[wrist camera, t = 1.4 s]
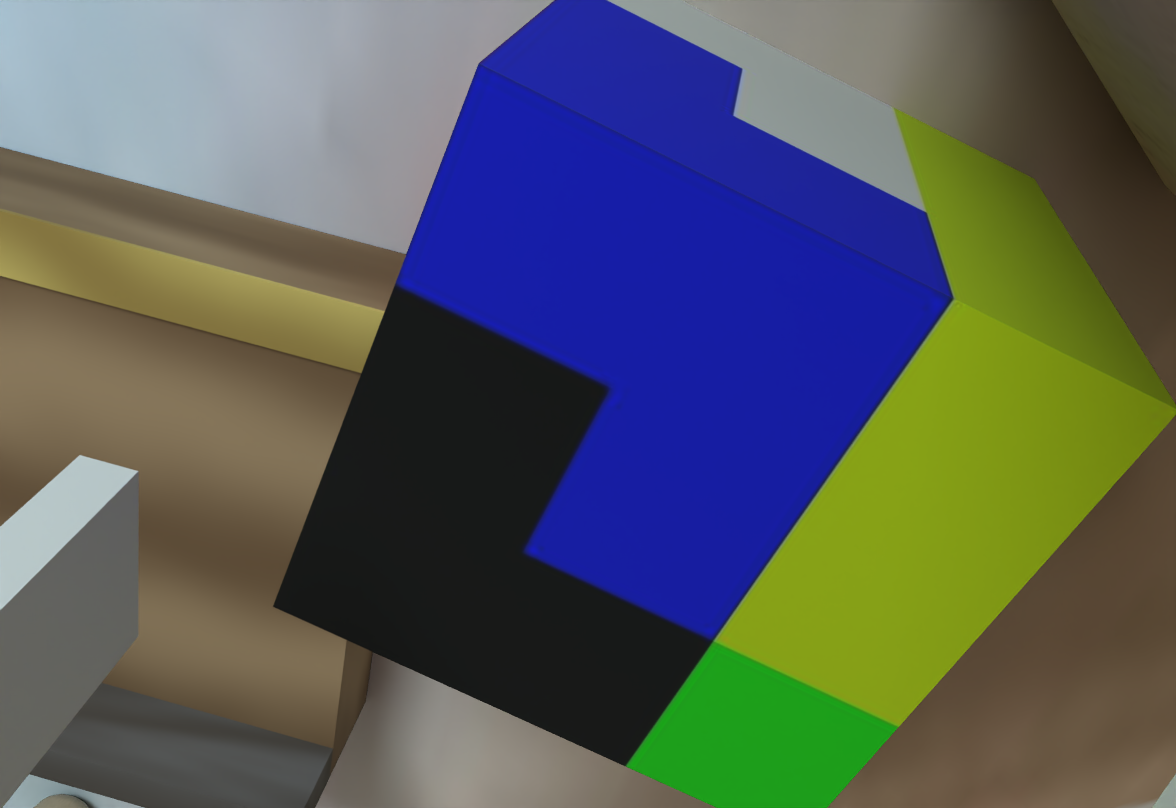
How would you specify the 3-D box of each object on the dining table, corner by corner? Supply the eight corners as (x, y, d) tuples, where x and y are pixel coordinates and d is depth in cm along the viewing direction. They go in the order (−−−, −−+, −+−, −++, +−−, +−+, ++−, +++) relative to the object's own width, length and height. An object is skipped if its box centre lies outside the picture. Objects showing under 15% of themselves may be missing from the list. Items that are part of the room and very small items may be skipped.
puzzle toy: (603, -41, 22) (478, 63, 13) (1033, 178, 23) (1180, 410, 14) (439, 349, 27) (272, 606, 18) (795, 518, 28) (795, 843, 19)
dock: (-86, 124, 26) (-279, 195, 22) (428, 260, 26) (346, 364, 21) (-33, 589, 34) (-167, 717, 29) (365, 701, 33) (294, 850, 29)
